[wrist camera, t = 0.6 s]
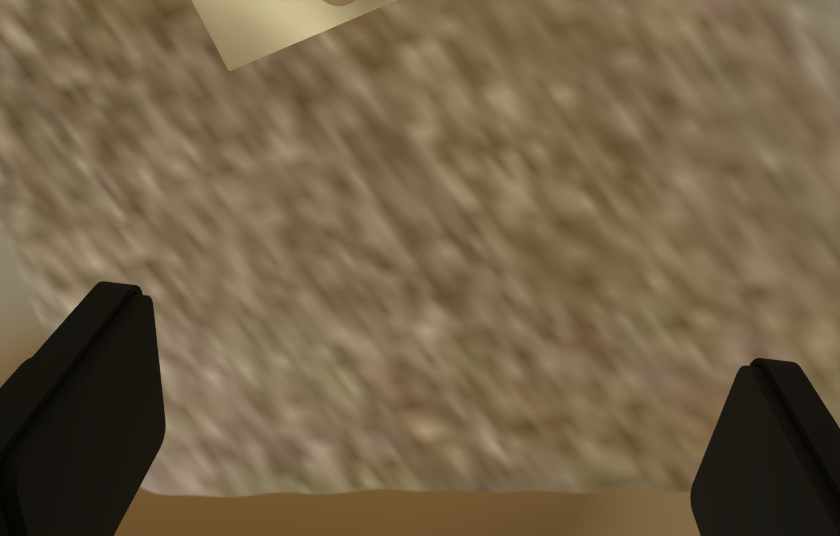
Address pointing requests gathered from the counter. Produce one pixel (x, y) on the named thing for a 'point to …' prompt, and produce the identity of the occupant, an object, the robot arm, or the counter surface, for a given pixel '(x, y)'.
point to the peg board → (272, 23)
